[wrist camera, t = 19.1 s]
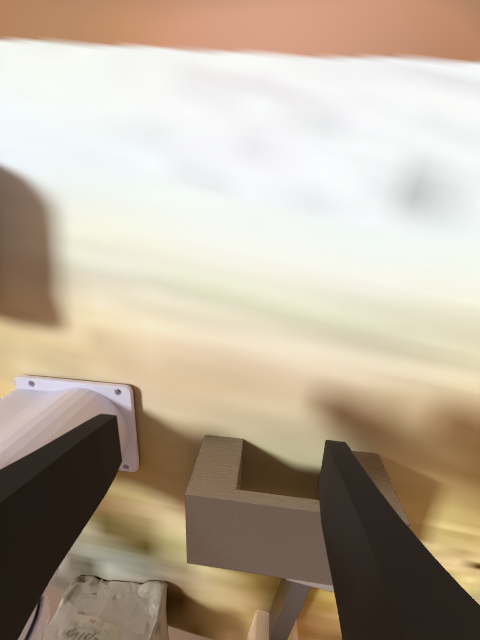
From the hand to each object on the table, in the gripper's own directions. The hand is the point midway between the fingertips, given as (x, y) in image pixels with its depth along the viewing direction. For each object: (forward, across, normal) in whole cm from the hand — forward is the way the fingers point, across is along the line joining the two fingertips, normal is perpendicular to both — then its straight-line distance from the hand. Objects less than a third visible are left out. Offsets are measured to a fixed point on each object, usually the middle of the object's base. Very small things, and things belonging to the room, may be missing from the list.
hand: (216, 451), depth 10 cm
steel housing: (+10, -4, +11) cm, 16 cm away
